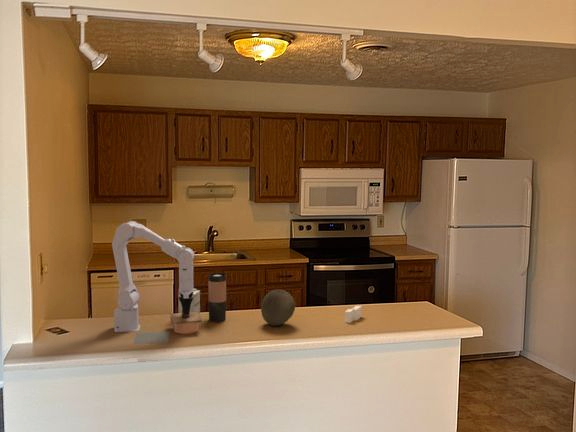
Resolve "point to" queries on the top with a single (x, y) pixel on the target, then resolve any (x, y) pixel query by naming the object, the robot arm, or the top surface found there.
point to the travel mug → (217, 297)
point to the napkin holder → (352, 314)
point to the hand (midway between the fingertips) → (186, 311)
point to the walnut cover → (185, 318)
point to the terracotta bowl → (186, 328)
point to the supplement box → (195, 302)
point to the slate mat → (151, 337)
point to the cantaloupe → (277, 307)
